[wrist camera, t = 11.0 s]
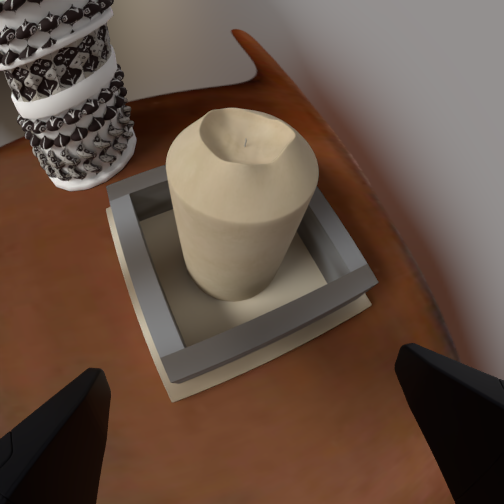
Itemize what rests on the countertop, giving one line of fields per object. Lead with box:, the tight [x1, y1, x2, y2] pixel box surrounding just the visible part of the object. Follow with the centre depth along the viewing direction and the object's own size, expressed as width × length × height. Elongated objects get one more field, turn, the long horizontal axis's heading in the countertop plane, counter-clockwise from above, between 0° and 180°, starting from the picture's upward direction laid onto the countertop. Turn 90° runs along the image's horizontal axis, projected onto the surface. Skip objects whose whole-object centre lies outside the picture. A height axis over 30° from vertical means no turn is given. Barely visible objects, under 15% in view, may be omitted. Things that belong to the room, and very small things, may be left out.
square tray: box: [106, 165, 379, 402], centre depth 17 cm, size 13×13×4 cm
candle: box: [166, 108, 319, 302], centre depth 14 cm, size 6×6×10 cm
